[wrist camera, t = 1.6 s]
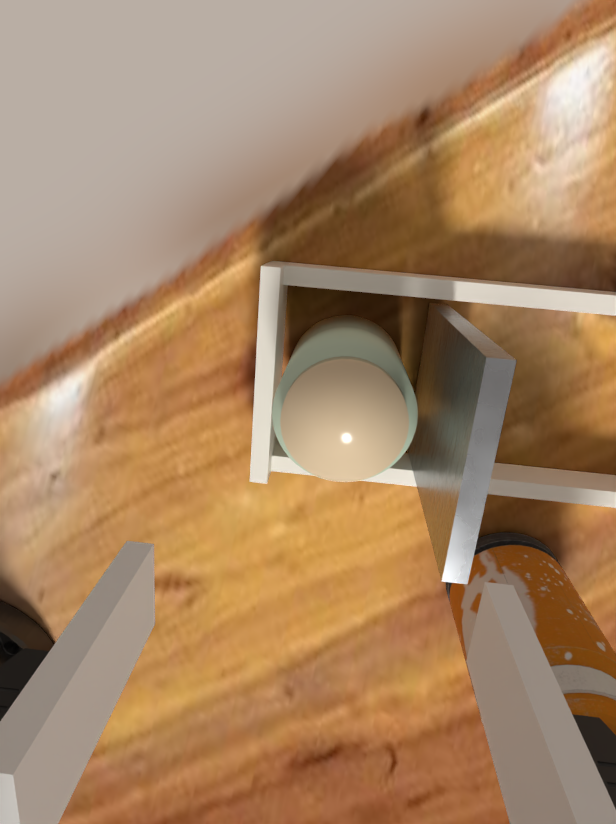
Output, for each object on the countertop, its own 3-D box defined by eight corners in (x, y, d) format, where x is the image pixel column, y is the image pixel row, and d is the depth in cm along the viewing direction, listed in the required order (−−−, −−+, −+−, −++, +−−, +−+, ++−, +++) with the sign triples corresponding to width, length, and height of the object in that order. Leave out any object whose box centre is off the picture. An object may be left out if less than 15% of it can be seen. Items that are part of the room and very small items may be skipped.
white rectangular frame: (260, 452, 41) (249, 481, 37) (271, 260, 37) (260, 265, 32) (682, 497, 40) (726, 533, 35) (751, 304, 35) (813, 316, 31)
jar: (286, 416, 40) (264, 483, 30) (294, 309, 38) (273, 342, 27) (392, 426, 40) (408, 499, 29) (408, 320, 37) (431, 358, 27)
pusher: (406, 447, 40) (441, 581, 25) (429, 302, 36) (486, 357, 21) (449, 451, 40) (510, 589, 25) (476, 307, 36) (567, 365, 21)
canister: (503, 506, 42) (632, 740, 23) (598, 589, 43) (790, 869, 24) (421, 576, 44) (475, 838, 25) (514, 651, 46) (628, 947, 27)
